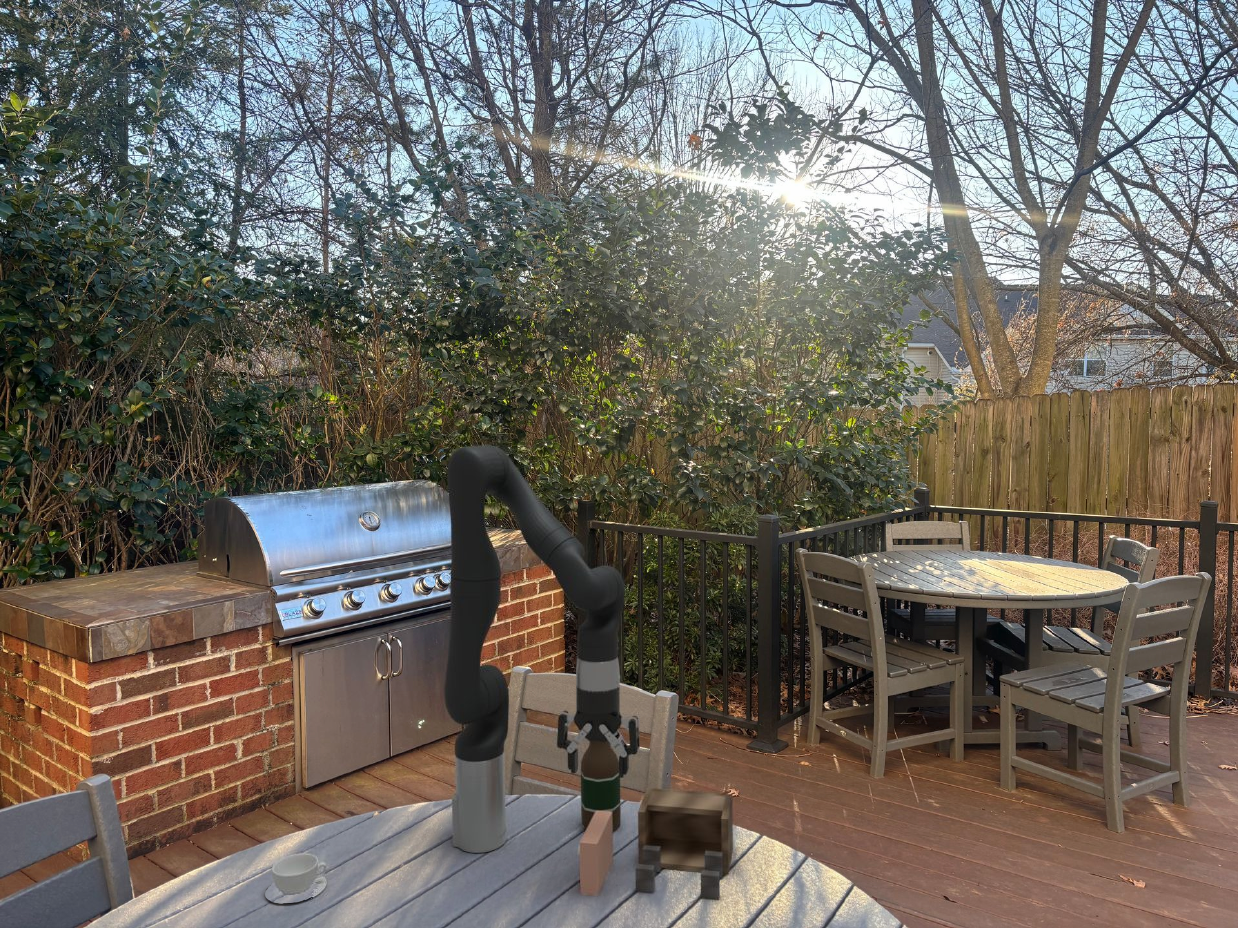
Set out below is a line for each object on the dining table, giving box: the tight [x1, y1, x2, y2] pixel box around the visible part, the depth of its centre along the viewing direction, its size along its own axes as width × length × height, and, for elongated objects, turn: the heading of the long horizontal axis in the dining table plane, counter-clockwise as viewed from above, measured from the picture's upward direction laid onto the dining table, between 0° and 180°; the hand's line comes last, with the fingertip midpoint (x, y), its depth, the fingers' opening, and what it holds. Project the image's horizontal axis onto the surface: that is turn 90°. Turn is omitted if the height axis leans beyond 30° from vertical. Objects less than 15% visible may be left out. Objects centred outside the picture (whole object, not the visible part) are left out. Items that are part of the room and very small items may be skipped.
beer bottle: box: [580, 741, 622, 832], centre depth 166 cm, size 8×8×24 cm
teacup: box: [271, 852, 328, 898], centre depth 145 cm, size 10×10×5 cm
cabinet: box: [635, 787, 734, 901], centre depth 151 cm, size 16×18×10 cm
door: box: [577, 810, 614, 896], centre depth 148 cm, size 12×4×9 cm, turn 168°
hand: (598, 773), depth 148 cm, fingers open, 8 cm apart
